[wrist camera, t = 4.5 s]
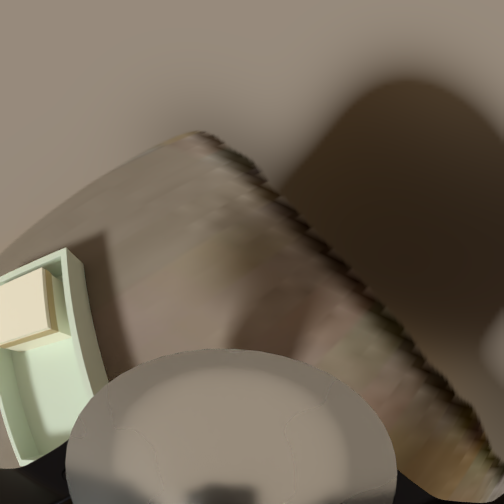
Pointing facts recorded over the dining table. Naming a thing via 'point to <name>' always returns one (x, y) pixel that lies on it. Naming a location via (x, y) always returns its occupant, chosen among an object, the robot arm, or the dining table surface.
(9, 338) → the butter box
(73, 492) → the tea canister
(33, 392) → the tote
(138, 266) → the dining table surface
